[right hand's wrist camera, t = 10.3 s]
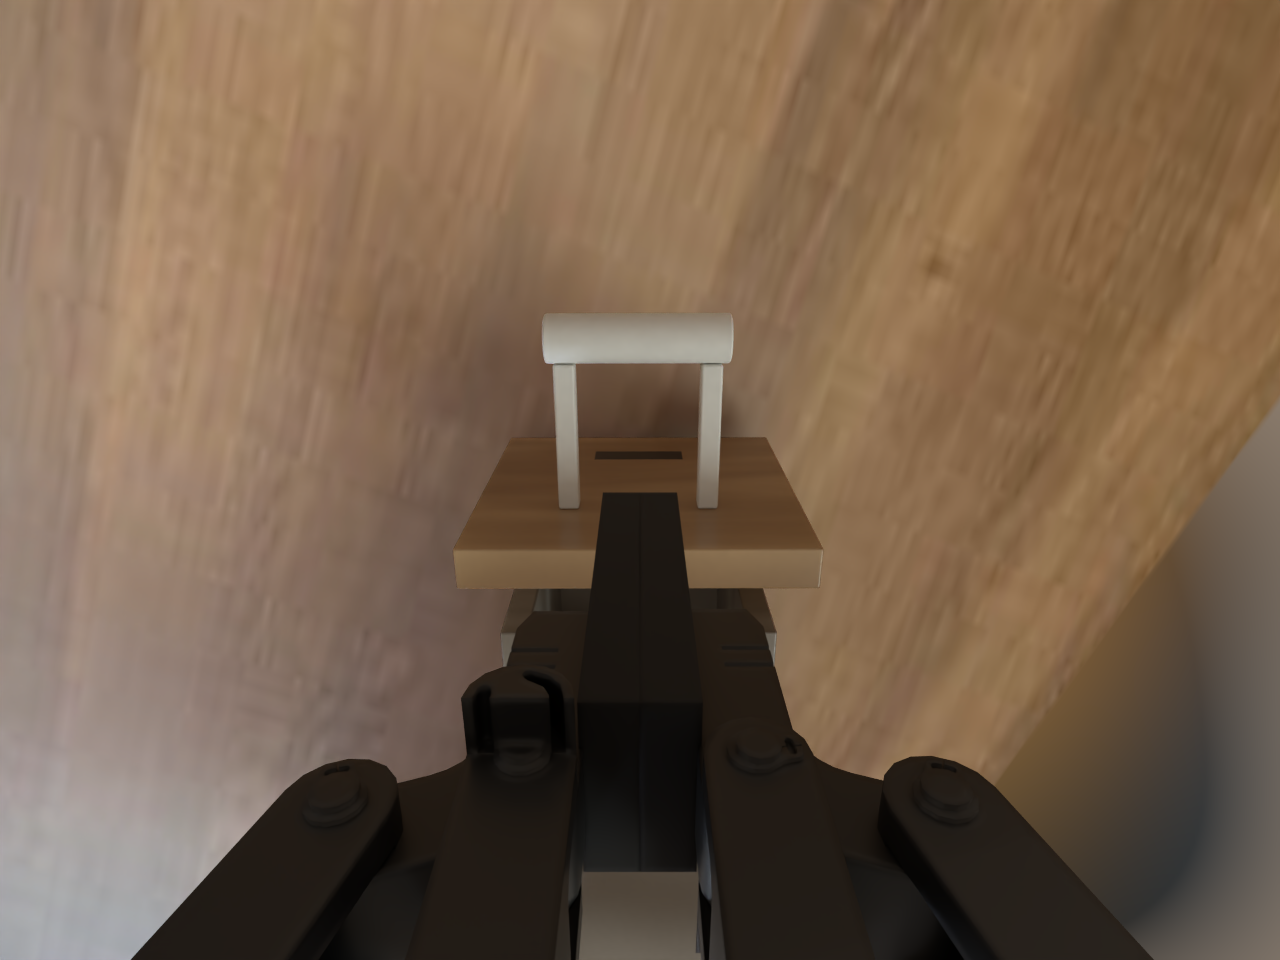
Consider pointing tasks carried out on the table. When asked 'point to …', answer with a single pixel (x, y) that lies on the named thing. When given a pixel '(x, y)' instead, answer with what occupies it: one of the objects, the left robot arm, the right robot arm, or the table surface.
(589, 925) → the cabinet
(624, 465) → the drawer
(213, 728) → the table surface
